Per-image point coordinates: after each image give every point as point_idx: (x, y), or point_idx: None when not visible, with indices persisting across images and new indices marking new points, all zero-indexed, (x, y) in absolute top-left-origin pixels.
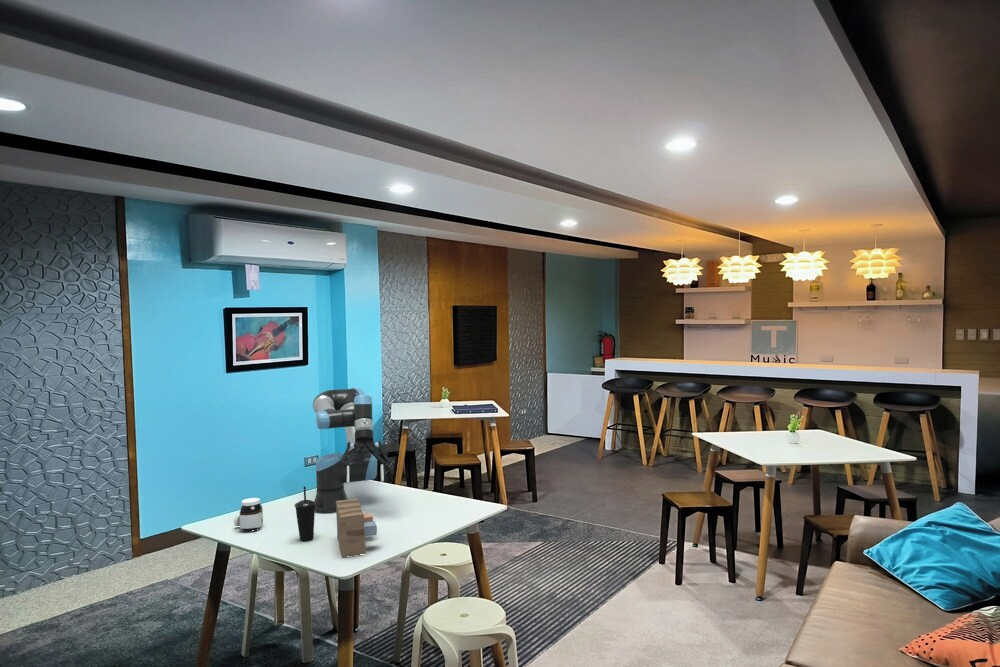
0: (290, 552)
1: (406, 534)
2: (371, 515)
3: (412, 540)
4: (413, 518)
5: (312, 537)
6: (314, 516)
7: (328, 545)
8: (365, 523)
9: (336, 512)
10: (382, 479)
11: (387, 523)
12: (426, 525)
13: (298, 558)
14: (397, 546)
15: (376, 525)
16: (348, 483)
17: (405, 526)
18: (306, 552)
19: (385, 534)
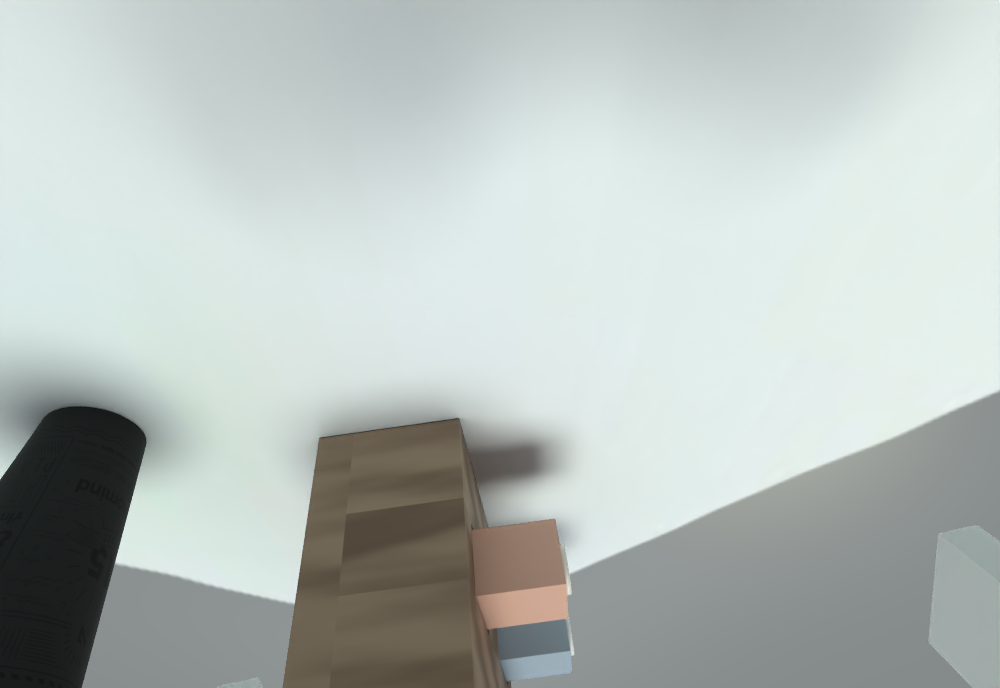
0: (120, 545)
1: (736, 440)
2: (562, 608)
3: (729, 497)
4: (972, 157)
5: (142, 457)
6: (95, 588)
7: (299, 505)
8: (519, 663)
9: (297, 624)
10: (953, 653)
11: (697, 240)
12: (930, 338)
13: (209, 582)
14: (642, 534)
15: (573, 654)
16: (256, 683)
17: (795, 330)
18: (213, 549)
19: (623, 426)
